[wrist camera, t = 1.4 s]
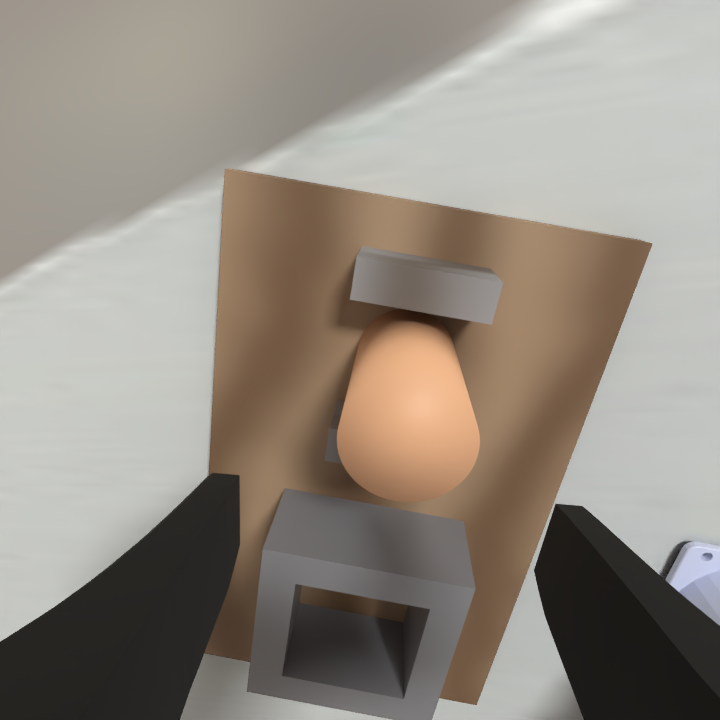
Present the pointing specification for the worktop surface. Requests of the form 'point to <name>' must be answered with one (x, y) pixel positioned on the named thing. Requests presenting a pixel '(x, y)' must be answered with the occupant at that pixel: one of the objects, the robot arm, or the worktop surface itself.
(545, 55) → the worktop surface
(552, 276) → the dock board
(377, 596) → the socket
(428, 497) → the peg
